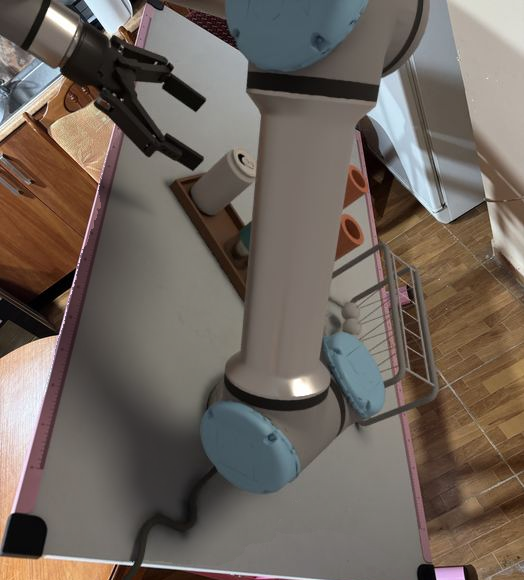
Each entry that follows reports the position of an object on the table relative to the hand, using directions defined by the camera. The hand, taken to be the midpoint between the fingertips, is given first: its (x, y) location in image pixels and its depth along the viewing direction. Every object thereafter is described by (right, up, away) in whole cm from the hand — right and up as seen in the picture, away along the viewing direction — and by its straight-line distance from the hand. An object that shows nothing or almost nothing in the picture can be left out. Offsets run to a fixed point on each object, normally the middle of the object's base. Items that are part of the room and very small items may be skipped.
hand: (200, 133), depth 86 cm
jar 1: (+23, 0, +44) cm, 49 cm away
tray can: (+5, -16, +13) cm, 22 cm away
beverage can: (-1, -7, +13) cm, 15 cm away
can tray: (+4, -15, +13) cm, 21 cm away
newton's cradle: (+24, -34, +24) cm, 48 cm away
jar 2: (+20, -14, +32) cm, 40 cm away
